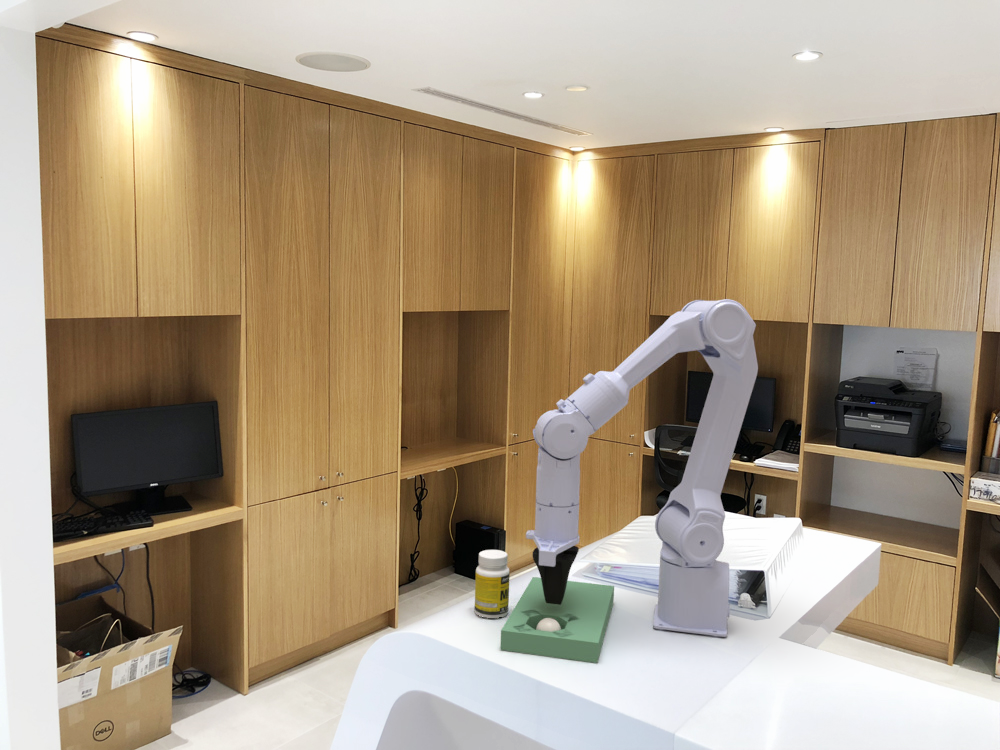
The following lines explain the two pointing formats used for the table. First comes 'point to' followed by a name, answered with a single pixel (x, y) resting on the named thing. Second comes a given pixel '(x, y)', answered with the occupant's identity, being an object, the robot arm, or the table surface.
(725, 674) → the table surface
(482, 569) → the supplement bottle
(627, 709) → the table surface
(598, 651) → the green
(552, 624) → the ball
